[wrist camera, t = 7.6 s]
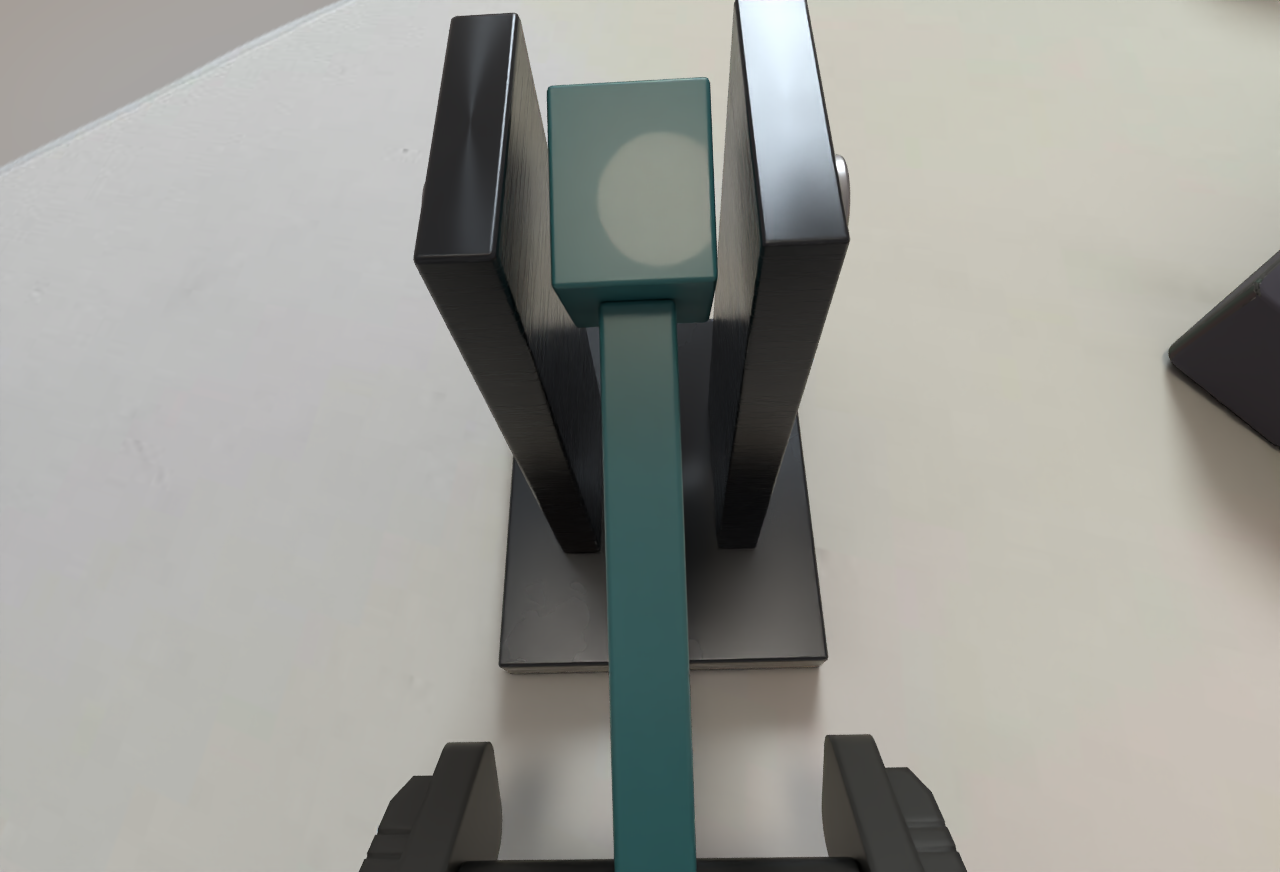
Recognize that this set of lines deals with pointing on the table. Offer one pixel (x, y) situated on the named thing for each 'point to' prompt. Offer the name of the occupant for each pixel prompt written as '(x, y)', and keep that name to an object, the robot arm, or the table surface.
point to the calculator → (1240, 351)
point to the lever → (641, 433)
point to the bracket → (707, 352)
